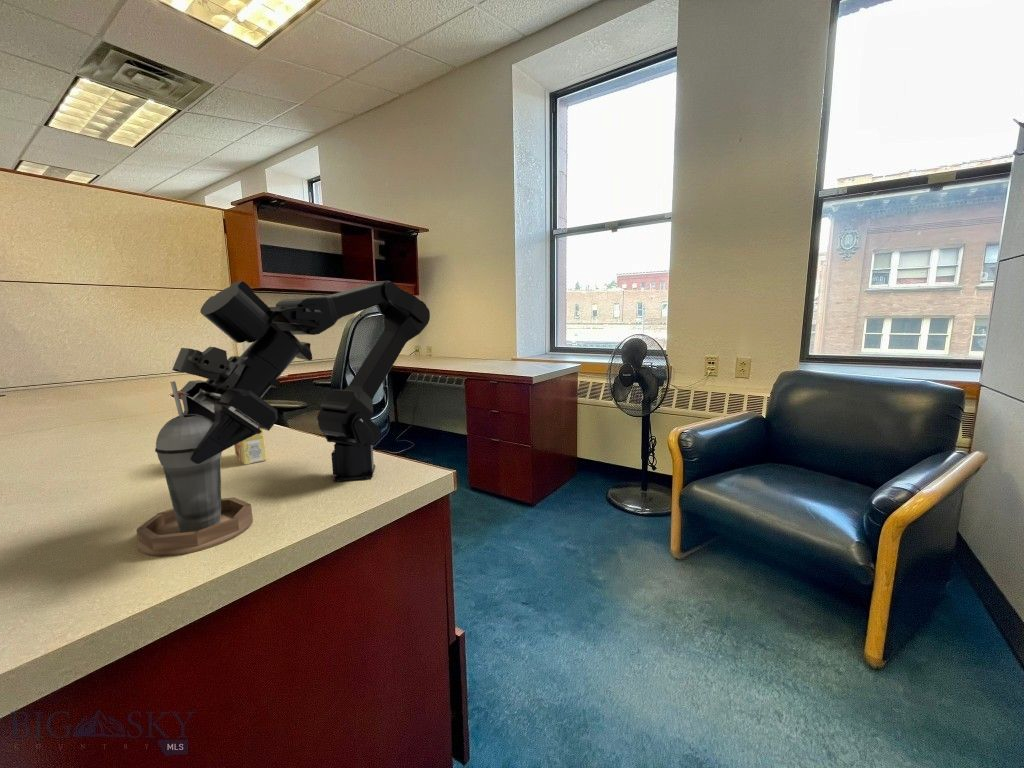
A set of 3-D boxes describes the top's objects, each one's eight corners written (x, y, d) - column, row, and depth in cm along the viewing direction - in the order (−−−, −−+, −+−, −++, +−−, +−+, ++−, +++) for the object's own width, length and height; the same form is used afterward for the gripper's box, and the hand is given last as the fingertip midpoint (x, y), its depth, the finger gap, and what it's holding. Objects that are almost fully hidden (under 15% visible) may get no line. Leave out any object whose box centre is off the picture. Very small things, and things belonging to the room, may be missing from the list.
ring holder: (265, 507, 66) (264, 493, 66) (231, 548, 54) (230, 532, 54) (171, 516, 64) (169, 501, 63) (113, 562, 52) (111, 544, 51)
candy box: (267, 460, 89) (260, 386, 87) (244, 465, 86) (235, 389, 84) (255, 451, 95) (248, 382, 93) (233, 456, 92) (225, 385, 90)
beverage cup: (212, 539, 55) (193, 384, 53) (152, 542, 55) (129, 386, 52) (243, 514, 63) (228, 376, 60) (190, 516, 62) (172, 378, 59)
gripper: (189, 325, 64) (99, 412, 57) (242, 325, 53) (139, 433, 46) (252, 373, 71) (179, 454, 64) (310, 381, 60) (230, 481, 53)
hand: (181, 455), depth 57 cm, fingers open, 9 cm apart
